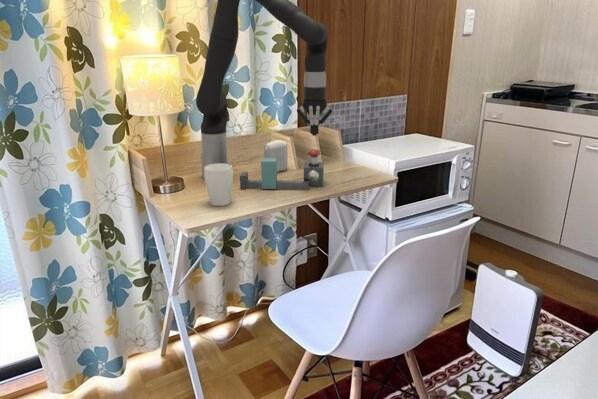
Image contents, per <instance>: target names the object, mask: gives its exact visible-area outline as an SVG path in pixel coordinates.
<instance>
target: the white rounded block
mask: <svg viewBox="0 0 598 399" xmlns="http://www.w3.org/2000/svg"><path fill="white" fill-rule="evenodd" d="M263 158H277V173H278V172H282V171H286V170H288V143H287V141H286V140H285V141H284V140H280V139H275V140H272V141H270V142H268V143H266V144H264V147H263Z"/></svg>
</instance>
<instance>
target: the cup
mask: <svg viewBox="0 0 598 399" xmlns="http://www.w3.org/2000/svg"><path fill="white" fill-rule="evenodd" d="M203 179H204V182H205V187H206V191H207V195H208V199H209V204H210V205H212V206H215V207H223V206H228V205H229V204H231V202H232V192H233V182H234V181H233V180H234V172H233V166H232V165H231V164H229V163H228V164H222V163H219V164H210V165H207V166H205V167H204V178H203Z"/></svg>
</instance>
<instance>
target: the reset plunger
mask: <svg viewBox="0 0 598 399" xmlns="http://www.w3.org/2000/svg"><path fill="white" fill-rule="evenodd" d="M307 155H308V156H309V162H310V166H318V162H319V156H320V155H321V150H320V149H316V148H314V149H308V150H307Z"/></svg>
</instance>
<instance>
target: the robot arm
mask: <svg viewBox="0 0 598 399" xmlns="http://www.w3.org/2000/svg"><path fill="white" fill-rule="evenodd" d="M254 1H255V2H256V3H258V4H260V5H261V6H262V7H263V8H264V9H265V10H266V11H267V12H269V14H271V16H273V17H274V18H275V19H276V20H277V21H278V22H280V23H282V24H283V25H284V26H286V27H287V28H288V29H290V30H292V31H293V32H294V33H295V34H296V35H297V36H298V37H299V38H300V39H301V40H302V41H304V42H305V43H307V48H306V50H307V52H306V54H305V57H304V76H303V102H302V103H301V104H302V105H301V106H299V107H298V108H297V109H296V112H297V114H298V115H299V117H300V118H301V119H302V120H303V121H304V122H305V124H308V125H310V127H309V128H310V129H309V130H310V132H309V133H310V135H311V136H312V137H313V136H315V137H316V136H317V135H318V134H319V130H320V129H319V128H320V127H319V126H320V125H321V124H324V123H325V122H326V120H327V119H328V118H329V116H330V115H331V114H332V113H333V108H330V106H328V103H327V99H326V97H327V96H326V94H327V93H326V92H327V74H326V64H327V63H326V62H327V59H326V56H327V55H326V54H327V47H328V37H329V35H328V30H327V29H328V28H326V26H325V25H324V24H323V23H322V22H318V21H315V20H314V19H312V18H311V17H309V16H308V15H306V14H305V11H303V9H301V8H300V7H299V6H298V5H296V4H295V3H293V2H292V1H291V0H254ZM240 2H241V0H217V2H216V3H217V4H216V7H215V8H216V9H215V12H214V17H213V23H212V26H211V31H210V34H209V39H208V40H209V41H208V46H207V53H206V57H205V58H206V59H205V64H204V70H203V75H202V79H201V82H200V84H199V88H198V90H197V94H196V99H195V104H196V107H197V109H198V112H200V113H201V114H202V122H201V124H200V134H201V137H200V138H201V149H202V150H201V153H200V161H201V176H202V179H205V178H204V167H205V166H207V165H210V164H219V163H222V164H229V162H228V161H229V160H228V158H229V157H228V156H229V155H228V141H227V124H228V102H227V101H228V100H227V96H226V94H225V92H224V91H223V89H222V88H223V84H224V83H223V82H224V80H225V77H226V74H227V72H228V70H229V68H230V66H231V65H232V64H231V63H232V61H233V59H234V57H235V55H236V54H235V53H236V49H237V45H238V40H239V8H240V7H239V6H240ZM305 112H306V113H307V114H308V116H309V118H308V117H307V115H306V114H305ZM323 112H325V114H324V115H323V116H322V117H321V119H320V115H322V113H323ZM314 118H315V119H314Z"/></svg>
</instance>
